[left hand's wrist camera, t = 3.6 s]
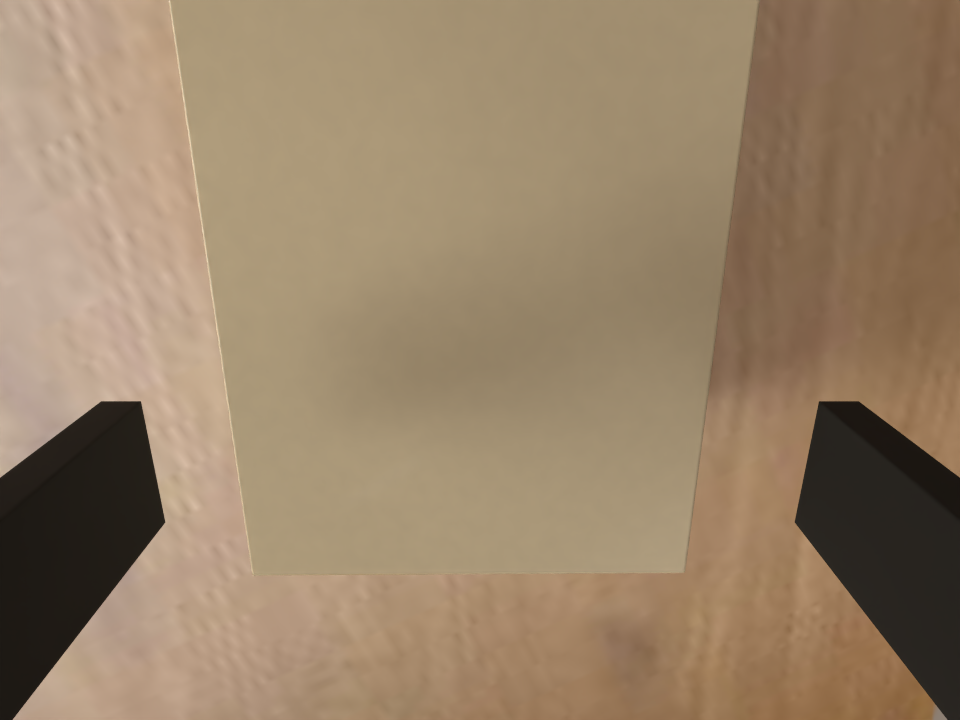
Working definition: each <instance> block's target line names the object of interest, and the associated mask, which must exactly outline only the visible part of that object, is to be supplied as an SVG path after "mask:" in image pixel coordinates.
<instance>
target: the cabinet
mask: <svg viewBox="0 0 960 720" xmlns="http://www.w3.org/2000/svg"><path fill="white" fill-rule="evenodd" d="M759 4H760V0H169V6H170V13H171V20H172V27H173V34H174V41H175V47H176V54H177V61H178V68H179V75H180V82H181V89H182V95H183V102H184V109H185V116H186V123H187V130H188V137H189V144H190V150H191V157H192V164H193V171H194V178H195V185H196V192H197V198H198V205H199V212H200V219H201V226H202V233H203V240H204V247H205V253H206V260H207V267H208V274H209V281H210V288H211V295H212V301H213V308H214V315H215V322H216V329H217V336H218V343H219V350H220V356H221V363H222V370H223V377H224V384H225V391H226V398H227V404H228V411H229V418H230V425H231V432H232V439H233V446H234V453H235V459H236V466H237V473H238V480H239V487H240V494H241V501H242V507H243V514H244V521H245V528H246V535H247V542H248V549H249V556H250V562H251V569H252V574H253V575H254V576H260V575H426V574H591V573H684V572H685V569H686V561H687V554H688V546H689V539H690V531H691V523H692V516H693V508H694V500H695V493H696V485H697V477H698V470H699V462H700V455H701V447H702V439H703V432H704V424H705V416H706V409H707V401H708V393H709V386H710V378H711V371H712V363H713V355H714V348H715V340H716V332H717V325H718V317H719V309H720V302H721V294H722V286H723V279H724V271H725V264H726V256H727V248H728V241H729V233H730V225H731V218H732V210H733V202H734V195H735V187H736V180H737V172H738V164H739V157H740V149H741V141H742V134H743V126H744V118H745V111H746V103H747V95H748V88H749V80H750V73H751V65H752V57H753V50H754V42H755V34H756V27H757V19H758V11H759Z"/></svg>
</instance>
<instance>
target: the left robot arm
mask: <svg viewBox="0 0 960 720" xmlns="http://www.w3.org/2000/svg"><path fill="white" fill-rule="evenodd" d="M164 523H165V519H164V514H163V509H162V504H161V499H160V494H159V489H158V484H157V479H156V474H155V469H154V464H153V459H152V454H151V449H150V444H149V439H148V434H147V429H146V424H145V419H144V415H143V410H142V405H141V401H101V402H100V403H99V404H97V405H96V406H95V407H93V408H92V409H91V410H89V411H88V412H87V413H85V414H84V415H83V416H81V417H80V418H79V419H77V420H76V421H75V422H73V423H72V424H71V425H69V426H68V427H67V428H66V429H64V430H63V431H62V432H60V433H59V434H58V435H56V436H55V437H54V438H52V439H51V440H50V441H48V442H47V443H46V444H44V445H43V446H42V447H40V448H39V449H38V450H36V451H35V452H34V453H32V454H31V455H30V456H28V457H27V458H26V459H24V460H23V461H22V462H20V463H19V464H18V465H17V466H15V467H14V468H13V469H11V470H10V471H9V472H7V473H6V474H5V475H3V476H2V477H1V478H0V720H13V718H14V717H15V716H16V714H17V713H18V712H19V711H20V709H21V708H22V707H23V705H24V704H25V703H26V702H27V700H28V699H29V698H30V696H31V695H32V694H33V692H34V691H35V690H36V689H37V687H38V686H39V685H40V683H41V682H42V681H43V680H44V678H45V677H46V676H47V674H48V673H49V672H50V671H51V669H52V668H53V667H54V665H55V664H56V663H57V661H58V660H59V659H60V658H61V656H62V655H63V654H64V652H65V651H66V650H67V649H68V647H69V646H70V645H71V643H72V642H73V641H74V639H75V638H76V637H77V636H78V634H79V633H80V632H81V630H82V629H83V628H84V627H85V625H86V624H87V623H88V621H89V620H90V619H91V618H92V616H93V615H94V614H95V612H96V611H97V610H98V608H99V607H100V606H101V605H102V603H103V602H104V601H105V599H106V598H107V597H108V596H109V594H110V593H111V592H112V590H113V589H114V588H115V587H116V585H117V584H118V583H119V581H120V580H121V579H122V577H123V576H124V575H125V574H126V572H127V571H128V570H129V568H130V567H131V566H132V565H133V563H134V562H135V561H136V559H137V558H138V557H139V556H140V554H141V553H142V552H143V550H144V549H145V548H146V546H147V545H148V544H149V543H150V541H151V540H152V539H153V537H154V536H155V535H156V534H157V532H158V531H159V530H160V528H161V527H162V526H163V525H164ZM795 523H796V525H797V526H798V527H799V528H800V530H801V531H802V532H803V534H804V535H805V536H806V537H807V539H808V540H809V541H810V543H811V544H812V545H813V546H814V548H815V549H816V550H817V552H818V553H819V554H820V556H821V557H822V558H823V559H824V561H825V562H826V563H827V565H828V566H829V567H830V568H831V570H832V571H833V572H834V574H835V575H836V576H837V577H838V579H839V580H840V581H841V583H842V584H843V585H844V587H845V588H846V589H847V590H848V592H849V593H850V594H851V596H852V597H853V598H854V599H855V601H856V602H857V603H858V605H859V606H860V607H861V608H862V610H863V611H864V612H865V614H866V615H867V616H868V618H869V619H870V620H871V621H872V623H873V624H874V625H875V627H876V628H877V629H878V630H879V632H880V633H881V634H882V636H883V637H884V638H885V639H886V641H887V642H888V643H889V645H890V646H891V647H892V649H893V650H894V651H895V652H896V654H897V655H898V656H899V658H900V659H901V660H902V661H903V663H904V664H905V665H906V667H907V668H908V669H909V671H910V672H911V673H912V674H913V676H914V677H915V678H916V680H917V681H918V682H919V683H920V685H921V686H922V687H923V689H924V690H925V691H926V692H927V694H928V695H929V696H930V698H931V699H932V700H933V702H934V703H935V704H936V705H937V707H938V708H939V709H940V710H941V712H942V713H943V714H944V716H945V717H946V718H947V720H960V478H959V477H958V476H957V475H955V474H954V473H953V472H951V471H950V470H949V469H947V468H946V467H945V466H943V465H942V464H941V463H940V462H938V461H937V460H936V459H934V458H933V457H932V456H930V455H929V454H928V453H926V452H925V451H924V450H922V449H921V448H920V447H918V446H917V445H916V444H914V443H913V442H912V441H910V440H909V439H908V438H906V437H905V436H904V435H902V434H901V433H900V432H898V431H897V430H896V429H894V428H893V427H892V426H890V425H889V424H888V423H887V422H885V421H884V420H883V419H881V418H880V417H879V416H877V415H876V414H875V413H873V412H872V411H871V410H869V409H868V408H867V407H865V406H864V405H863V404H861V403H860V402H859V401H819V405H818V410H817V415H816V419H815V424H814V429H813V434H812V439H811V444H810V449H809V454H808V459H807V464H806V469H805V474H804V479H803V484H802V489H801V494H800V499H799V504H798V509H797V514H796V519H795Z"/></svg>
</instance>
